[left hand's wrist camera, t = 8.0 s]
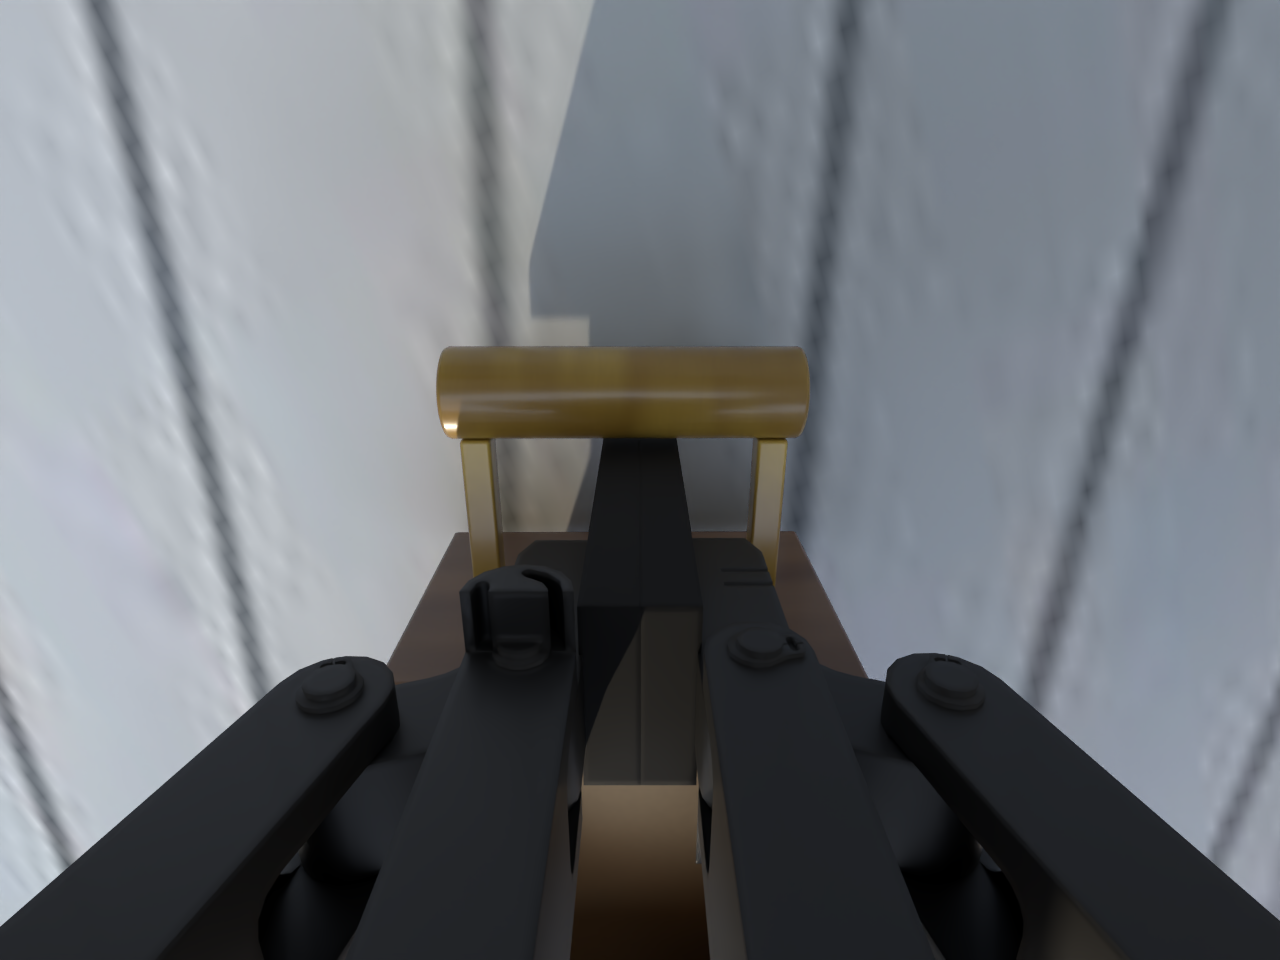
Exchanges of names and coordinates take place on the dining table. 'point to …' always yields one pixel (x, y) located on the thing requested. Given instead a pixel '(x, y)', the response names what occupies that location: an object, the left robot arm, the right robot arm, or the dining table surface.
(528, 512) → the dining table surface
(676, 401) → the drawer
